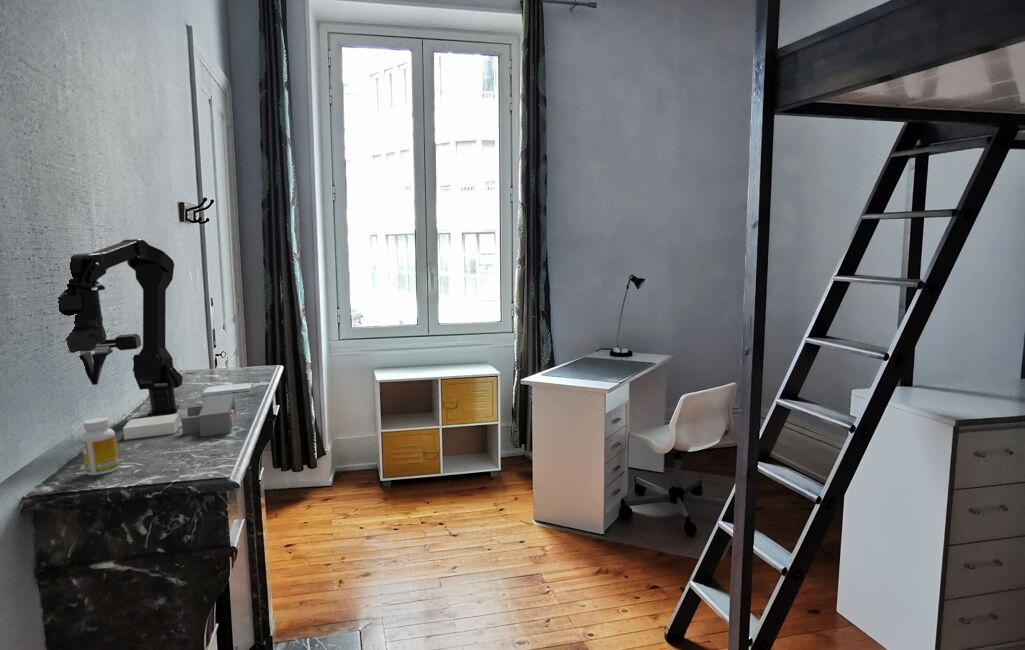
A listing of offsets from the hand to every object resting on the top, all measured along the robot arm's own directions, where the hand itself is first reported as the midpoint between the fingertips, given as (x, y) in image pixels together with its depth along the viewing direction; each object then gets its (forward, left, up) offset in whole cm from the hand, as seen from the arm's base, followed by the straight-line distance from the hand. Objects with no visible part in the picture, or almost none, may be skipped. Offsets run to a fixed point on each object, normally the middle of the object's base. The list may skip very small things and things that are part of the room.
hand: (95, 384), depth 149 cm
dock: (0, +22, -12) cm, 25 cm away
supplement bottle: (+26, +5, -12) cm, 29 cm away
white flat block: (0, +10, -12) cm, 16 cm away
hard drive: (-38, +24, -13) cm, 47 cm away
